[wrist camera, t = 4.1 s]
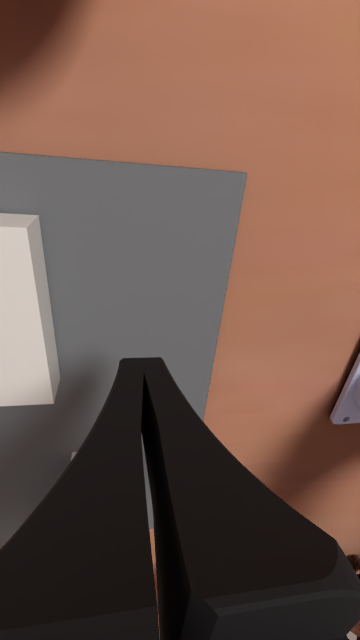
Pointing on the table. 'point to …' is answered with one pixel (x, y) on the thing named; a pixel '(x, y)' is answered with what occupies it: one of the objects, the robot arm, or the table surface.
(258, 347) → the table surface
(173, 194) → the mat
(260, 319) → the table surface
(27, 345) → the tile
